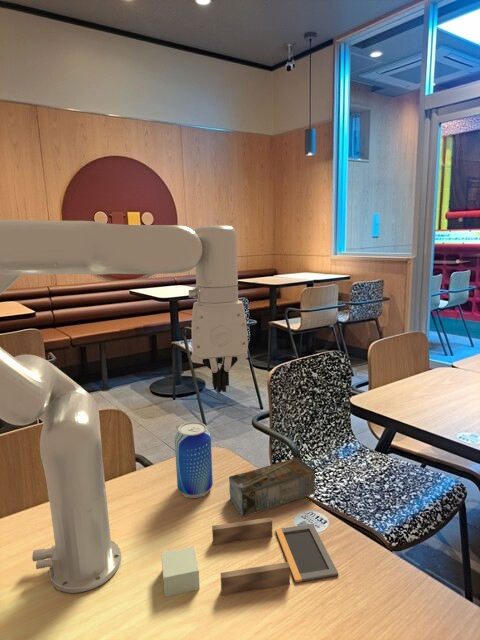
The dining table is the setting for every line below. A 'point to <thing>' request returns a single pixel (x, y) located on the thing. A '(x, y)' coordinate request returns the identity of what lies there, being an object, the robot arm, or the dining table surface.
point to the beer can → (193, 459)
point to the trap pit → (305, 553)
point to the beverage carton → (271, 486)
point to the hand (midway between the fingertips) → (220, 389)
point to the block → (180, 571)
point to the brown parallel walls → (256, 575)
